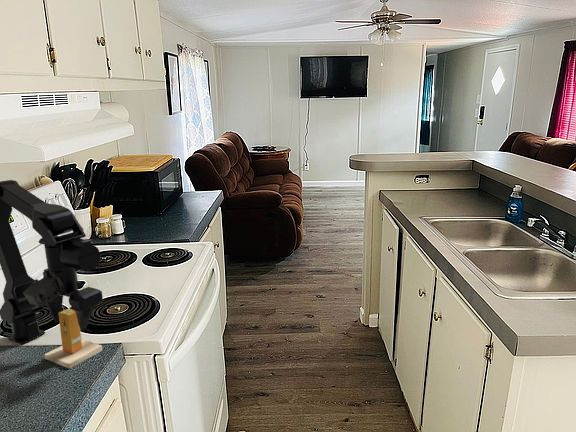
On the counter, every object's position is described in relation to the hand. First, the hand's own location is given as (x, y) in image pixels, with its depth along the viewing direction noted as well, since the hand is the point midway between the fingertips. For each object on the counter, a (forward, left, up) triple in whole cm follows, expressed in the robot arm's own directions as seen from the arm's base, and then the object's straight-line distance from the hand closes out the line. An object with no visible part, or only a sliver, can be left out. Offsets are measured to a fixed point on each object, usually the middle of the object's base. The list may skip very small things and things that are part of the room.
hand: (70, 325), depth 105 cm
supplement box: (0, 0, -7) cm, 7 cm away
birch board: (0, 0, -8) cm, 8 cm away
